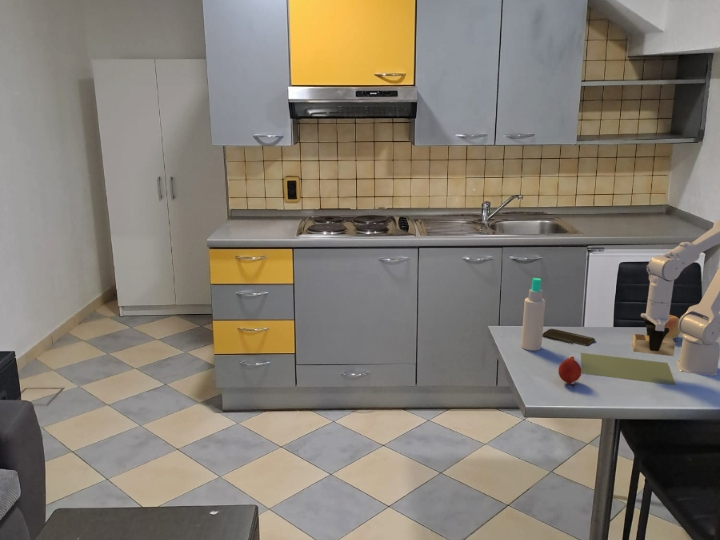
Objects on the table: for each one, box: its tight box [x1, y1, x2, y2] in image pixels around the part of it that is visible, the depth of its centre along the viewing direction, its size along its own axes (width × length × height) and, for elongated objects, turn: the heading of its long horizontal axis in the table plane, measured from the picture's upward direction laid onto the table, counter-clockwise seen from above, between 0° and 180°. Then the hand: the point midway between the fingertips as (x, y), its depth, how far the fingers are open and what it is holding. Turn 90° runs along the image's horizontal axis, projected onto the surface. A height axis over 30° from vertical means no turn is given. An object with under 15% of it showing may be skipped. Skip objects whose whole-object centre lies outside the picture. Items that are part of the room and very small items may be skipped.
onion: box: [557, 355, 582, 385], centre depth 173 cm, size 6×6×8 cm
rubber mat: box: [580, 352, 677, 386], centre depth 183 cm, size 24×16×1 cm, turn 73°
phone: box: [542, 328, 596, 347], centre depth 207 cm, size 8×1×15 cm
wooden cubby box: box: [631, 333, 676, 357], centre depth 177 cm, size 10×4×4 cm, turn 73°
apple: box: [665, 314, 681, 340], centre depth 207 cm, size 9×9×8 cm
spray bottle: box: [520, 277, 546, 352], centre depth 196 cm, size 6×6×22 cm
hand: (652, 347), depth 177 cm, fingers closed on wooden cubby box, 4 cm apart
